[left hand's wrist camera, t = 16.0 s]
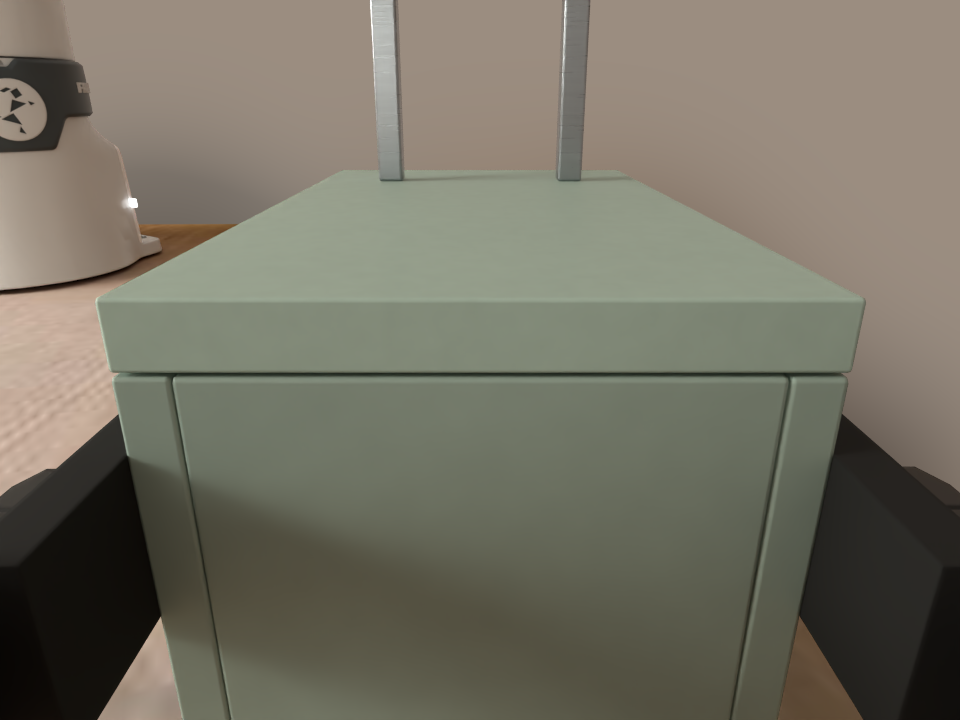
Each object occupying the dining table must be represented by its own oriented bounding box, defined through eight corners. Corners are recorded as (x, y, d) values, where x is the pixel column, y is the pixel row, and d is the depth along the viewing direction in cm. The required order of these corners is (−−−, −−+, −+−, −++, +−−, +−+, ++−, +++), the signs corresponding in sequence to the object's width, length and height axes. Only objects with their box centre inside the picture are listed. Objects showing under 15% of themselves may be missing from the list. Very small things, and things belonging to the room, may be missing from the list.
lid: (343, 200, 24) (324, -63, 21) (616, 200, 24) (635, -63, 21) (107, 374, 9) (-72, -476, 6) (853, 374, 9) (1033, -476, 6)
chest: (354, 433, 26) (337, 205, 23) (605, 434, 26) (621, 205, 23) (204, 835, 12) (109, 378, 9) (755, 835, 12) (852, 377, 9)
